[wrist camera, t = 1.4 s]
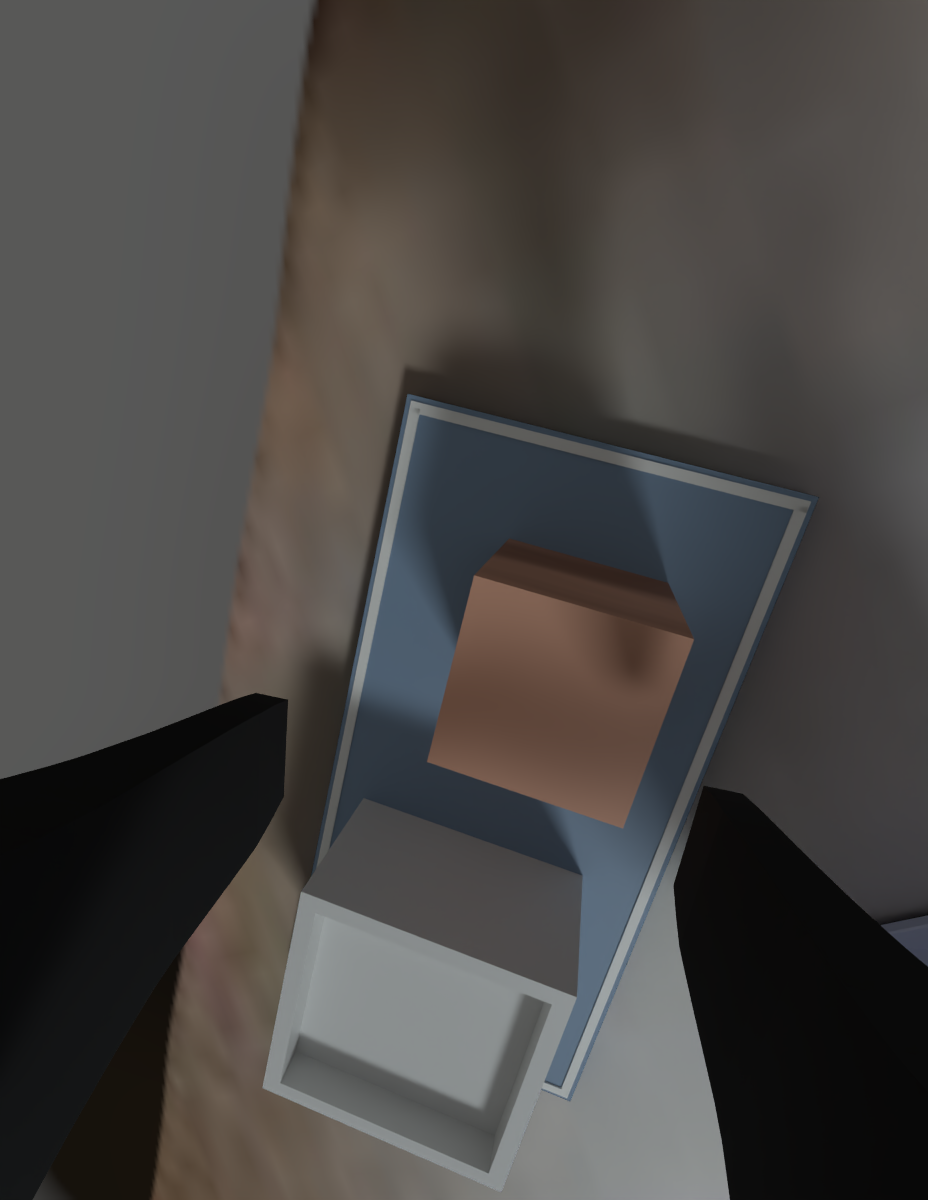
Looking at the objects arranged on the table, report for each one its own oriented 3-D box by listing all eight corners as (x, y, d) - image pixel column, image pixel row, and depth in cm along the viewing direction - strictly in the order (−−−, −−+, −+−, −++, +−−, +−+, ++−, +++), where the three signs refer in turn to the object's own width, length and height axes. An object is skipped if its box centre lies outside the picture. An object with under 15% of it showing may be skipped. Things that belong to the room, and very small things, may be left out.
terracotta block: (509, 538, 17) (473, 575, 13) (668, 583, 17) (693, 639, 12) (471, 680, 19) (426, 761, 14) (617, 726, 18) (622, 828, 13)
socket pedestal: (363, 798, 21) (301, 891, 16) (582, 875, 19) (577, 997, 15) (326, 966, 23) (262, 1088, 18) (521, 1044, 22) (501, 1192, 17)
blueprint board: (416, 395, 18) (407, 393, 17) (809, 494, 16) (819, 497, 15) (298, 969, 24) (288, 987, 23) (571, 1079, 23) (570, 1103, 22)
